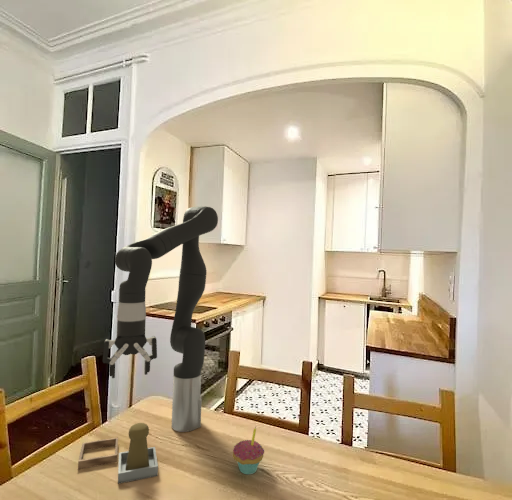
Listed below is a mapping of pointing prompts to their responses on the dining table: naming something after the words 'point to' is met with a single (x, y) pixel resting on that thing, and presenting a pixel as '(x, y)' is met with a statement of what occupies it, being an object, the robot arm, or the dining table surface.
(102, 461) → the walnut frame
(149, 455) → the grey tray
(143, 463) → the olive pawn
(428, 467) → the dining table surface
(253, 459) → the cupcake
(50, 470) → the dining table surface
